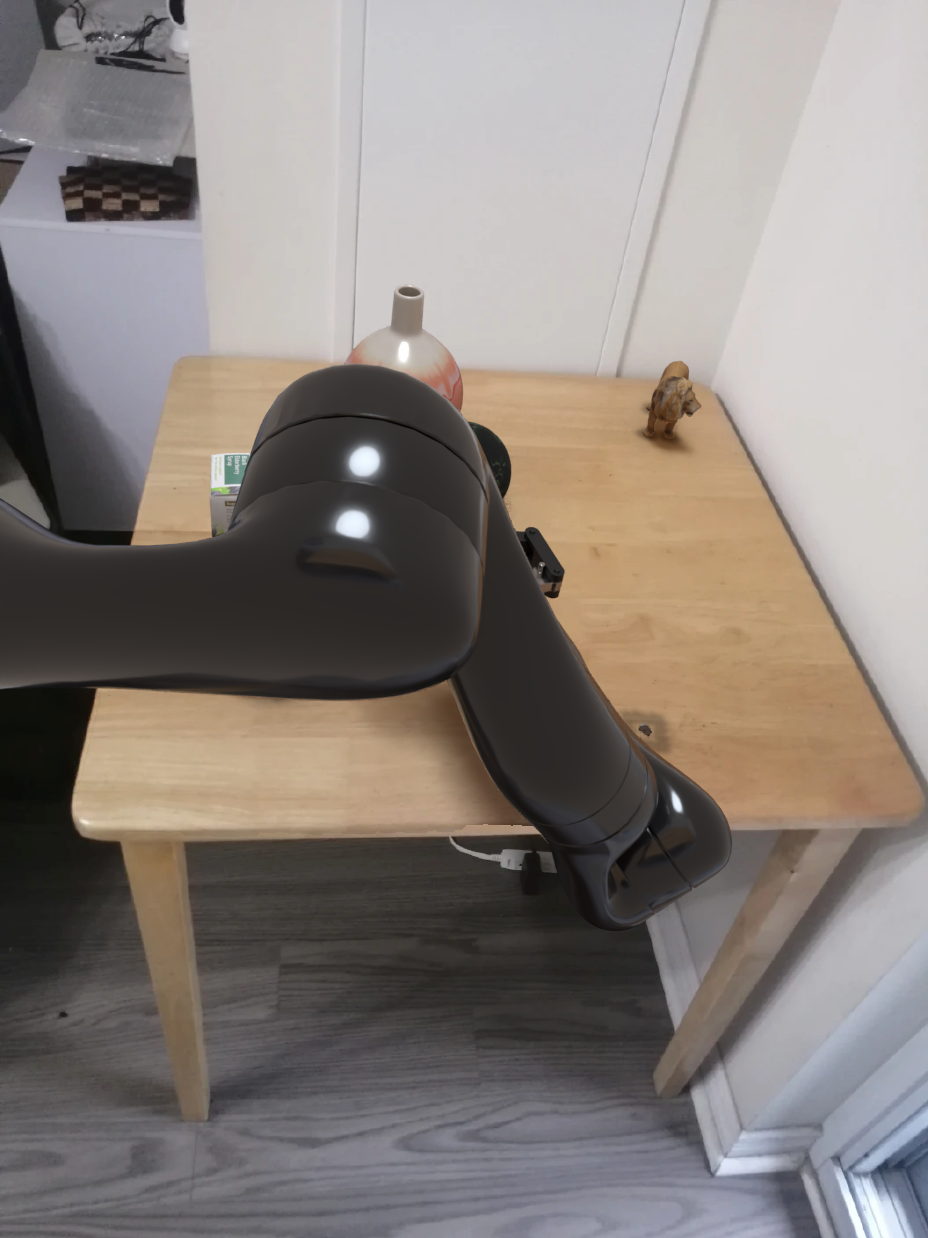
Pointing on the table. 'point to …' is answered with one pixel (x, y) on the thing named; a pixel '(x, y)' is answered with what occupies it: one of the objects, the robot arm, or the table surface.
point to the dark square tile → (645, 729)
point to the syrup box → (225, 488)
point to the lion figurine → (672, 399)
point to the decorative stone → (494, 456)
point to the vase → (411, 347)
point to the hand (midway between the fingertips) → (431, 519)
